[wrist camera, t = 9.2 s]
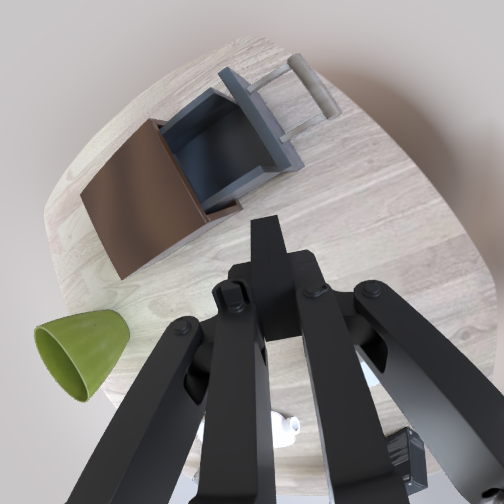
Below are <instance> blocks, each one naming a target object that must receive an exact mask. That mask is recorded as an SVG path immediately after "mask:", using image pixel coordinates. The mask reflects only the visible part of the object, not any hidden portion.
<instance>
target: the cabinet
mask: <svg viewBox="0 0 504 504" xmlns="http://www.w3.org/2000/svg"><path fill="white" fill-rule="evenodd" d="M167 122H168V121H162V120H157V119H150V118H149V119H148V120H147V121H146V122H145V123H144V124H143V125H142V126H141V127H140V128H139V129H138V130H137V131H136V132H135V133H134V134H133V135H132V136H131V137H130V138H129V139H128V140H127V141H126V142H125V143H124V144H123V145H122V146H121V147H120V148H119V149H118V150H117V151H116V152H115V154H114V155H113V156H112V157H111V158H110V159H109V160H108V161H107V162H106V164H105V165H104V166H103V167H102V168H101V169H100V171H99V172H98V173H97V174H96V175H95V176H94V178H93V179H92V180H91V181H90V182H89V184H88V185H87V186H86V187H85V189H84V190H83V191H82V193H81V194H80V196H81V199H82V201H83V203H84V206H85V208H86V210H87V212H88V215H89V217H90V219H91V221H92V223H93V226H94V228H95V230H96V232H97V234H98V236H99V238H100V240H101V242H102V244H103V246H104V248H105V250H106V252H107V254H108V256H109V258H110V260H111V262H112V264H113V266H114V267H115V269H116V271H117V273H118V275H119V277H120V278H121V280H124V279H126V278H128V277H130V276H131V275H133V274H135V273H137V272H139V271H141V270H143V269H145V268H147V267H148V266H150V265H152V264H154V263H156V262H158V261H160V260H162V259H164V258H166V257H167V256H169V255H170V254H172V253H173V252H175V251H176V250H178V249H180V248H181V247H183V246H184V245H186V244H188V243H189V242H191V241H192V240H194V239H195V238H197V237H199V236H200V235H202V234H203V233H205V232H207V231H208V230H210V229H212V228H213V227H215V226H216V225H218V224H220V223H221V222H223V221H225V220H226V219H228V218H230V217H231V216H233V215H235V214H236V213H238V212H240V211H241V210H243V208H242V206H241V205H240V203H239V201H238V199H237V200H235V201H234V202H232V203H231V204H229V205H227V206H226V207H224V208H223V209H221V210H220V211H217V212H214V213H211V214H209V215H206V214H205V212H204V210H203V208H202V207H201V205H200V203H199V201H198V200H197V198H196V196H195V194H194V192H193V191H192V189H191V187H190V185H189V183H188V182H187V180H186V178H185V176H184V174H183V172H182V171H181V169H180V167H179V165H178V163H177V162H176V160H175V158H174V156H173V154H172V152H171V151H170V149H169V147H168V145H167V143H166V141H165V139H164V138H163V136H162V134H161V132H160V130H159V129H160V128H162V127H163V126H164V125H165V124H166V123H167Z"/></svg>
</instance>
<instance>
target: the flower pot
mask: <svg viewBox="0 0 504 504" xmlns="http://www.w3.org/2000/svg"><path fill="white" fill-rule="evenodd" d="M129 336H130V334H129V329H128V327H127V324H126V323H125V321H124V320H123V318H122V317H121V316H120V315H119V314H118V313H116V312H115V311H112V310H101V311H93V312H86V313H80V314H76V315H71V316H67V317H63V318H60V319H56V320H53V321H50V322H47V323H45V324H42V325H40V326H37V327H36V328H35V330H34V338H35V343H36V346H37V349H38V352H39V354H40V356H41V358H42V360H43V362H44V364H45V366H46V367H47V369H48V371H49V372H50V374H51V375H52V376H53V378H54V379H55V380H56V382H57V383H58V384H59V385H60V386H61V387H62V388H63V389H64V390H65V391H66V392H67V393H68V394H69V395H70V396H71V397H73V398H74V399H76V400H77V401H80V402H84V403H85V402H87V401H88V400H89V399H90V398H91V397H92V396H93V394H94V393H95V392H96V391H97V389H98V388H99V387H100V386H101V384H102V383H103V382H104V381H105V379H106V378H107V377H108V375H109V374H110V372H111V371H112V369H113V368H114V366H115V365H116V363H117V361H118V359H119V358H120V356H121V354H122V352H123V351H124V349H125V347H126V345H127V342H128V340H129Z"/></svg>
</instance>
